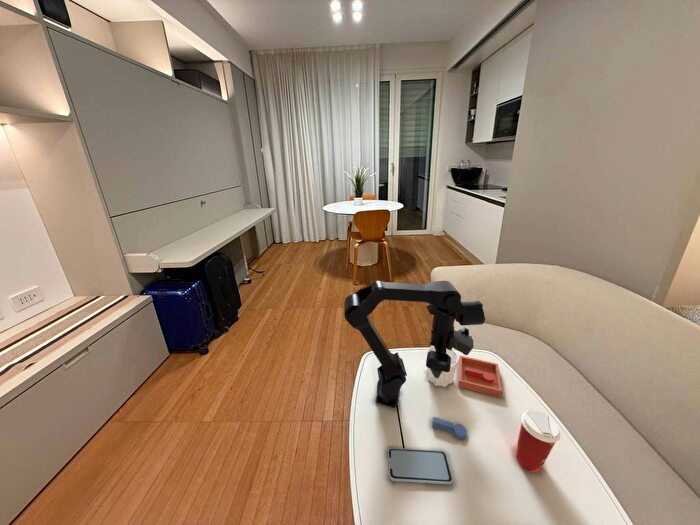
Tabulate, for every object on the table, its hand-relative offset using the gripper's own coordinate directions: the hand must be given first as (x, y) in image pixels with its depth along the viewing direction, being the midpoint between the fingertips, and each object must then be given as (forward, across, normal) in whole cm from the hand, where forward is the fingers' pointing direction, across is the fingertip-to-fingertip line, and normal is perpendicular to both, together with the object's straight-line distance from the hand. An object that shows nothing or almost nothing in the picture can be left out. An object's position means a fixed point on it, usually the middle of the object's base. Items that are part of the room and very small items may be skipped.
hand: (437, 366), depth 81 cm
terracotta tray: (+12, +12, -14) cm, 22 cm away
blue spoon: (+12, -10, -5) cm, 17 cm away
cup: (+12, +8, -1) cm, 15 cm away
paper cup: (+12, -12, -24) cm, 29 cm away
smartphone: (+12, -23, +2) cm, 26 cm away
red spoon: (+11, +12, -14) cm, 22 cm away
